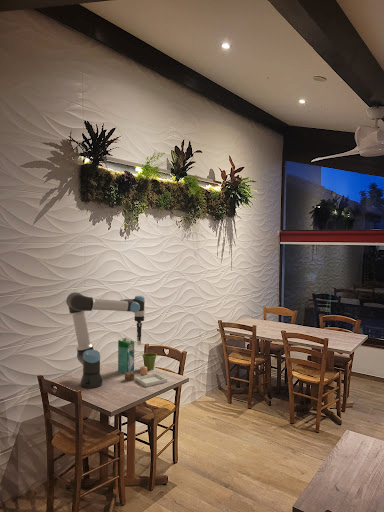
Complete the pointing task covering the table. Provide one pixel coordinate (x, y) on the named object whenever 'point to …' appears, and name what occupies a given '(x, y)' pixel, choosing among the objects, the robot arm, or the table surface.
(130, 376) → the walnut cube
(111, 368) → the table surface
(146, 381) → the pale grey tray
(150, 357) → the plant pot
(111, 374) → the table surface
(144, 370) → the terracotta cylinder
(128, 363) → the milk carton
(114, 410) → the table surface
